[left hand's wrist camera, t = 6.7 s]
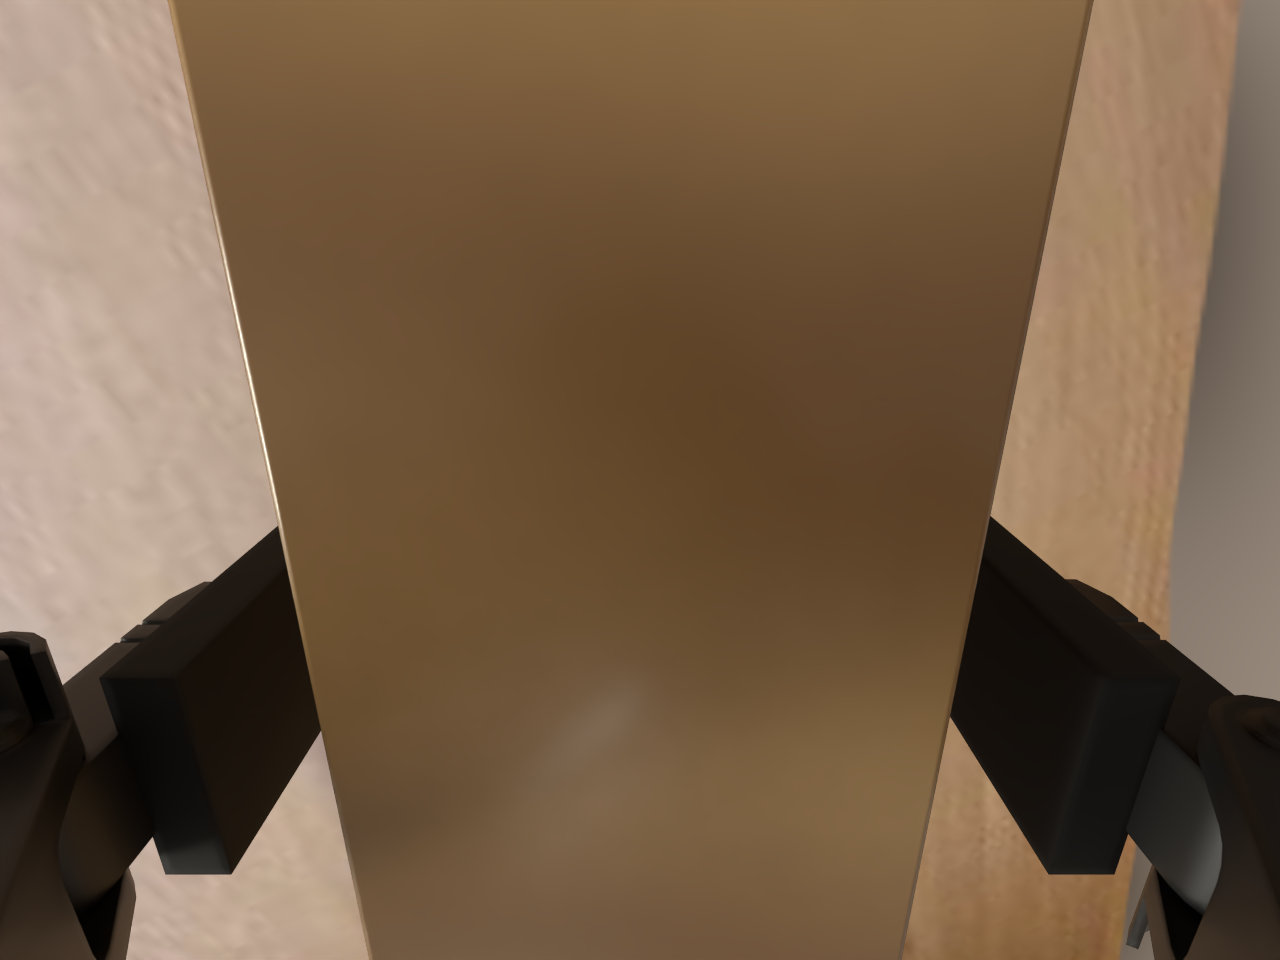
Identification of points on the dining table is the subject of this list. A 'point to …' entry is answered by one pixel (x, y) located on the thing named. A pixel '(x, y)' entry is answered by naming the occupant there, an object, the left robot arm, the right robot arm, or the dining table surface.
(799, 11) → the bar
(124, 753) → the left robot arm
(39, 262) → the dining table surface
